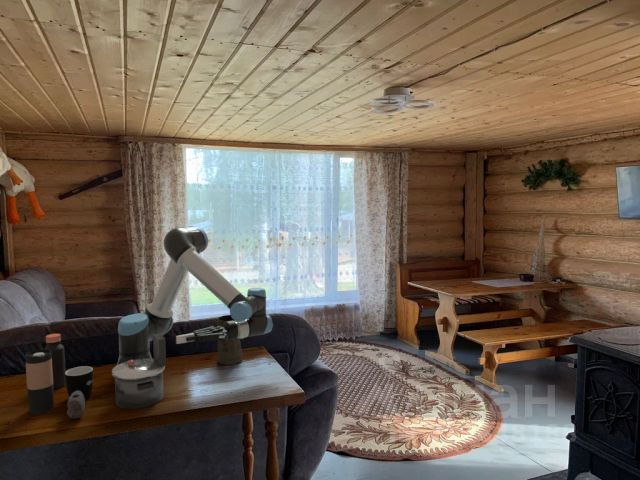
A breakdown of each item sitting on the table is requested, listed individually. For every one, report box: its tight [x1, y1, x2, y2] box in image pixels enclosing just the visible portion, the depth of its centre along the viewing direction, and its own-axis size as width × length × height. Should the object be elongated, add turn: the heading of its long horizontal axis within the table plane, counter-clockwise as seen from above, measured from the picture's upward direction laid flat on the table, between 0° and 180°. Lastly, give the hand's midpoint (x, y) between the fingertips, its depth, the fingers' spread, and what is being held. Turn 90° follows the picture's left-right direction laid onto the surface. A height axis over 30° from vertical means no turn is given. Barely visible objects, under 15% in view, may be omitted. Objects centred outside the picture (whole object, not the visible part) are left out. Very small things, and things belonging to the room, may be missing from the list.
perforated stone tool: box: [66, 390, 86, 420], centre depth 152 cm, size 15×5×7 cm, turn 24°
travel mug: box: [25, 348, 55, 415], centre depth 153 cm, size 8×8×20 cm
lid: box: [111, 333, 167, 380], centre depth 161 cm, size 18×18×11 cm
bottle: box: [44, 333, 66, 390], centre depth 173 cm, size 7×7×20 cm
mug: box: [65, 365, 94, 400], centre depth 164 cm, size 12×9×10 cm
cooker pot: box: [114, 370, 164, 410], centre depth 162 cm, size 20×16×10 cm
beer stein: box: [216, 314, 243, 366], centre depth 202 cm, size 15×11×20 cm
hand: (176, 339), depth 168 cm, fingers closed
